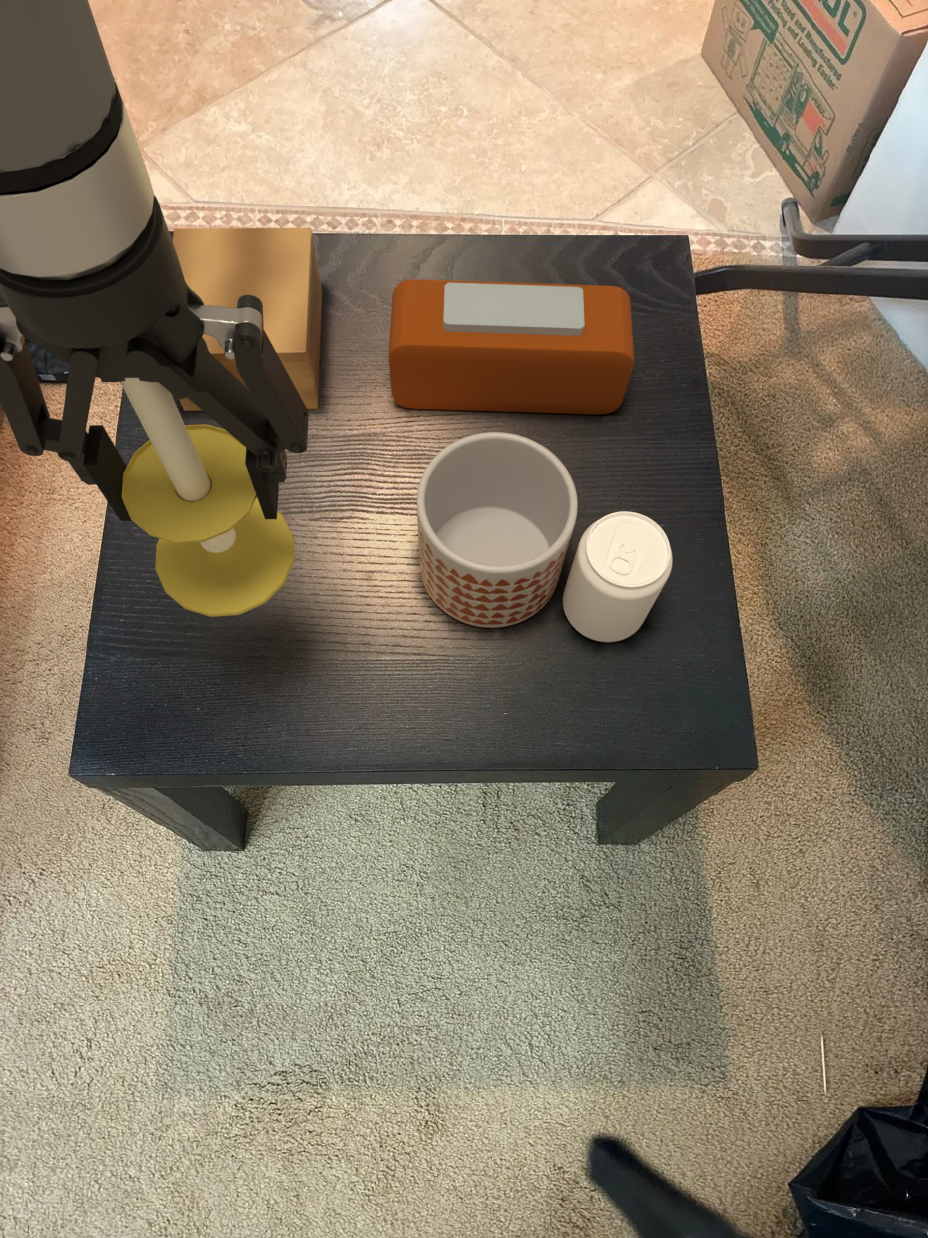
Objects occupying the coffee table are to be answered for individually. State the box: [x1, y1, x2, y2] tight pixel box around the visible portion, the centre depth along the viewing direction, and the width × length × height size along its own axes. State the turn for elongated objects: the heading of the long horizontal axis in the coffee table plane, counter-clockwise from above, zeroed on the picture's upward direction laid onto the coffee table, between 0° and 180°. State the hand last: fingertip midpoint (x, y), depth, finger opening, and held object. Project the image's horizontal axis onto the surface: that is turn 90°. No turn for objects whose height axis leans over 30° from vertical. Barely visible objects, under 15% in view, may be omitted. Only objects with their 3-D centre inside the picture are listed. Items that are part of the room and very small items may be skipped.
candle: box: [119, 378, 295, 618], centre depth 51 cm, size 10×10×27 cm
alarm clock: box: [388, 278, 635, 416], centre depth 89 cm, size 24×8×11 cm, turn 89°
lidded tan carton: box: [172, 227, 323, 412], centre depth 90 cm, size 14×16×9 cm
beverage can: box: [562, 510, 673, 643], centre depth 78 cm, size 8×8×12 cm
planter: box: [416, 431, 579, 629], centre depth 79 cm, size 14×14×13 cm
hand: (200, 501), depth 56 cm, fingers closed on candle, 8 cm apart
